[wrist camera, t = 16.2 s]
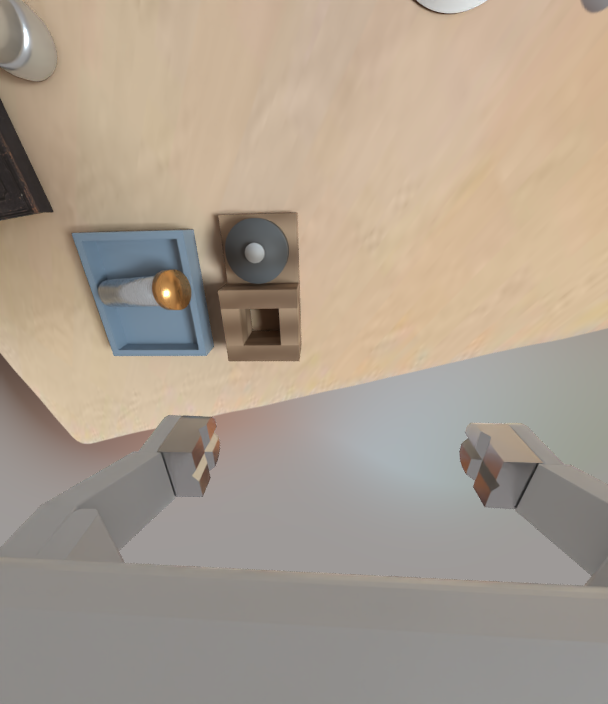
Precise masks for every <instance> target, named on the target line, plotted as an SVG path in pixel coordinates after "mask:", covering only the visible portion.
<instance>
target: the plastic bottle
mask: <svg viewBox="0 0 608 704" xmlns="http://www.w3.org/2000/svg"><path fill="white" fill-rule="evenodd" d="M56 64H57V51H56V47H55V44H54V41H53V38H52V36H51V34H50V32H49V30H48V28H47V26H46V25H45V23H44V22H43V20H42V19H41V18H40V17H39V16H38V15H37V14H36V13H35V12H34V11H33V10H32V9H31V8H30V7H29V6H28V5H27V4H26V3H24V2H23V1H22V0H0V67H1V68H3V69H4V70H6V71H7V72H9V73H11V74H12V75H15V76H17V77H19V78H23V79H27V80H31V81H43V80H45V79H47V78H48V77H50V76H51V75H52V74H53V72H54V70H55V68H56Z"/></svg>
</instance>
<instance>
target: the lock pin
mask: <svg viewBox="0 0 608 704" xmlns="http://www.w3.org/2000/svg"><path fill="white" fill-rule="evenodd" d="M98 294H99V297H100V299H101V301H102V302H103V303H104V304H105V305H107V306H109V307H113V308H116V307H147V306H161V307H162V308H164V309H166V310H182V309H184V308H186V307H187V306H188V304H189V303H190V300H191V286H190V283H189V281H188V279H187V277H186V276H185V275H184V274H183V273H182V272H180V271H178V270H163V271H160V272H158V273H157V274H156V275H155V276H147V277H135V278H122V279H110V280H105V281H103V282H102V283H101V284H100V285H99V288H98Z"/></svg>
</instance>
